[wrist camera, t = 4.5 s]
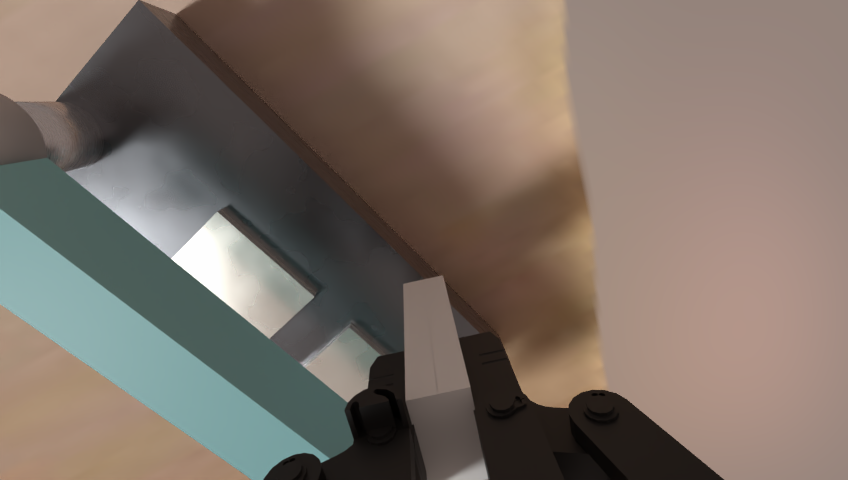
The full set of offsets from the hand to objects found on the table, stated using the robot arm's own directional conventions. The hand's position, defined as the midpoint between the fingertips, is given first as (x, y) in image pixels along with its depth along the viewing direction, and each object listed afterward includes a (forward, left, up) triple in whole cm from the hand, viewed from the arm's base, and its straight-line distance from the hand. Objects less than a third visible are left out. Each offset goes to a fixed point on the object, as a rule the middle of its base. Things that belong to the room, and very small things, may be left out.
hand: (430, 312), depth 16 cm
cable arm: (-5, -5, +1) cm, 7 cm away
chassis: (-5, -5, -5) cm, 8 cm away
